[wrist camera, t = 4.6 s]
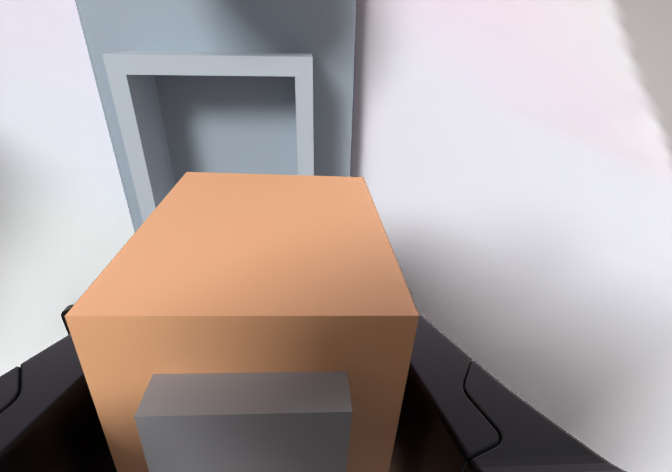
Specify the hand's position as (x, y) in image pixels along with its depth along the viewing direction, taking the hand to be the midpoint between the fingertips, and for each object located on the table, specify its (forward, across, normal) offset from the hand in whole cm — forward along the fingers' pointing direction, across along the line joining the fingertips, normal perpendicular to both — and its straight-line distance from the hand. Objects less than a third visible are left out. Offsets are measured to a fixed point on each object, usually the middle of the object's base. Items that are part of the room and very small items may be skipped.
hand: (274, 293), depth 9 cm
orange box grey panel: (+1, 0, 0) cm, 1 cm away
